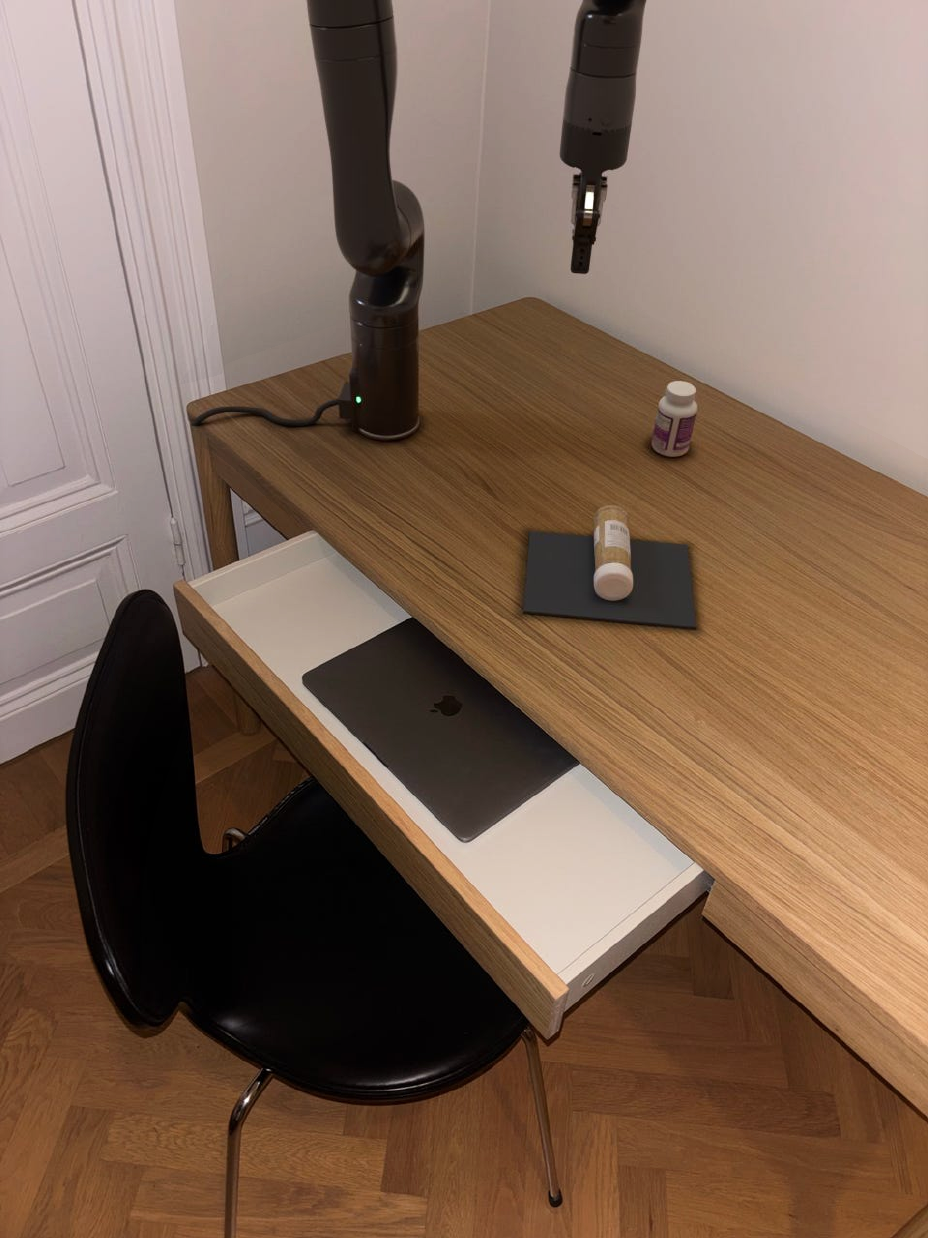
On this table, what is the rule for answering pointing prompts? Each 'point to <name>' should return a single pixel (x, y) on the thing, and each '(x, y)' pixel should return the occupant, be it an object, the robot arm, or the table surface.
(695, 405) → the pill bottle
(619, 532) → the sprinkles bottle
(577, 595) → the mat
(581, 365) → the table surface
